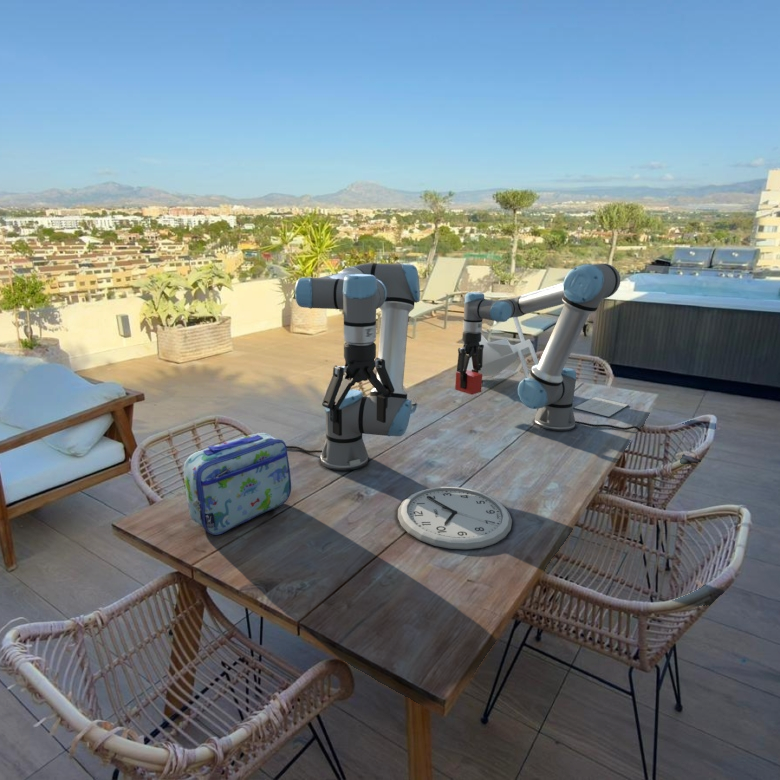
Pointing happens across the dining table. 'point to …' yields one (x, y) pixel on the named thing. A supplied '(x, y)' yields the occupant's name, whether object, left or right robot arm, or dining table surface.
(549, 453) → the dining table surface
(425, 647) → the dining table surface
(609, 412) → the invitation card
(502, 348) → the white plastic object
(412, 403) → the fork
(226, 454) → the lunch box
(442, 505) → the wall clock
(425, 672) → the dining table surface
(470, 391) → the block
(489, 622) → the dining table surface
